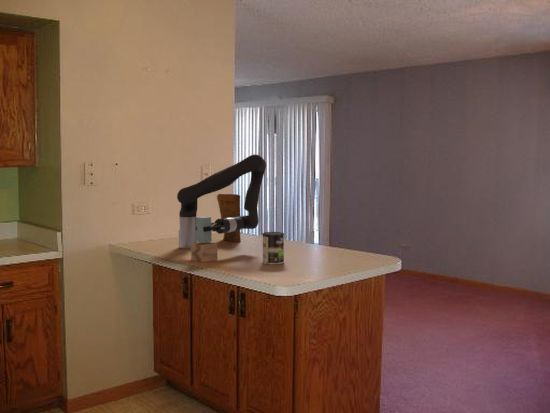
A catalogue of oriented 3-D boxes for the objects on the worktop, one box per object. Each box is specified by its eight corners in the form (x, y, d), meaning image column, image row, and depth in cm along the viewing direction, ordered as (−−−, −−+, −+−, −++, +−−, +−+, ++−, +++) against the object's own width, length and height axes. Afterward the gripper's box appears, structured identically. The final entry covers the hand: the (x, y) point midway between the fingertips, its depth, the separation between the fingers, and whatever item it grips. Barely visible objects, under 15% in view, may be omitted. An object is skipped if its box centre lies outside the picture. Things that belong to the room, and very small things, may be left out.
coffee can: (288, 261, 271) (288, 232, 270) (276, 265, 263) (276, 235, 261) (270, 259, 277) (269, 231, 275) (258, 263, 268) (258, 233, 267)
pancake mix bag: (236, 243, 328) (235, 194, 325) (216, 239, 342) (215, 193, 339) (245, 242, 332) (244, 194, 329) (225, 238, 346) (224, 192, 343)
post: (196, 241, 276) (196, 217, 275) (204, 240, 280) (204, 216, 279) (203, 242, 273) (203, 218, 272) (211, 241, 276) (211, 217, 275)
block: (191, 259, 277) (190, 243, 276) (205, 257, 283) (205, 241, 283) (203, 262, 271) (203, 245, 270) (217, 259, 277) (217, 243, 277)
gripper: (215, 216, 291) (190, 220, 278) (235, 219, 281) (209, 222, 269) (216, 231, 291) (190, 235, 279) (235, 234, 282) (209, 238, 269)
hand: (199, 228), depth 274 cm, fingers closed on post, 5 cm apart
